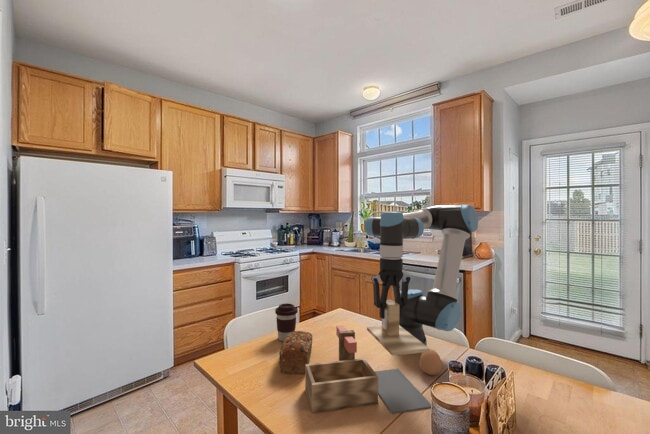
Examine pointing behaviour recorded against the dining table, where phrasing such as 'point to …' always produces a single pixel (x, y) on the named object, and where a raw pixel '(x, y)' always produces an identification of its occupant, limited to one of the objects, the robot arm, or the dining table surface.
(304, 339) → the bread
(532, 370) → the dining table surface
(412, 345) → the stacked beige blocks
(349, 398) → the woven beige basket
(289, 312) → the coffee cup
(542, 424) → the dining table surface
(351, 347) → the red block
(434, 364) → the egg
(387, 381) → the mat
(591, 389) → the dining table surface
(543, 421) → the dining table surface
